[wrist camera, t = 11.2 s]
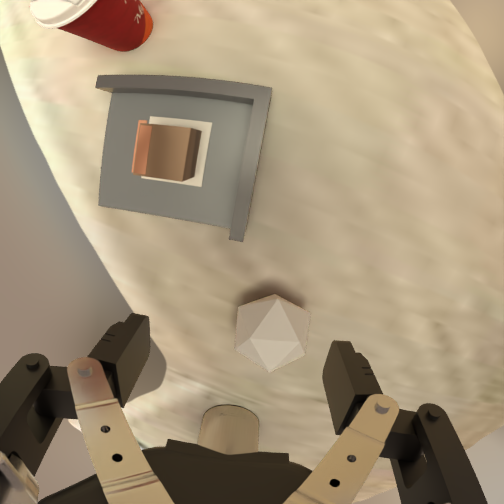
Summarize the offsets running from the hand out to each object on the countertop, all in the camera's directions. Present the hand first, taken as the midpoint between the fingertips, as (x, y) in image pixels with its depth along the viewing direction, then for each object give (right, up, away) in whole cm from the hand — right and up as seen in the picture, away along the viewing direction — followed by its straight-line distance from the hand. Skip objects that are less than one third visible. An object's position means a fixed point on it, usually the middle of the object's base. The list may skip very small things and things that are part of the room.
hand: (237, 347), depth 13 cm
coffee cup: (-14, +30, +14) cm, 36 cm away
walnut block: (-8, +15, +18) cm, 25 cm away
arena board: (-8, +15, +19) cm, 25 cm away
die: (+3, -4, +25) cm, 26 cm away
